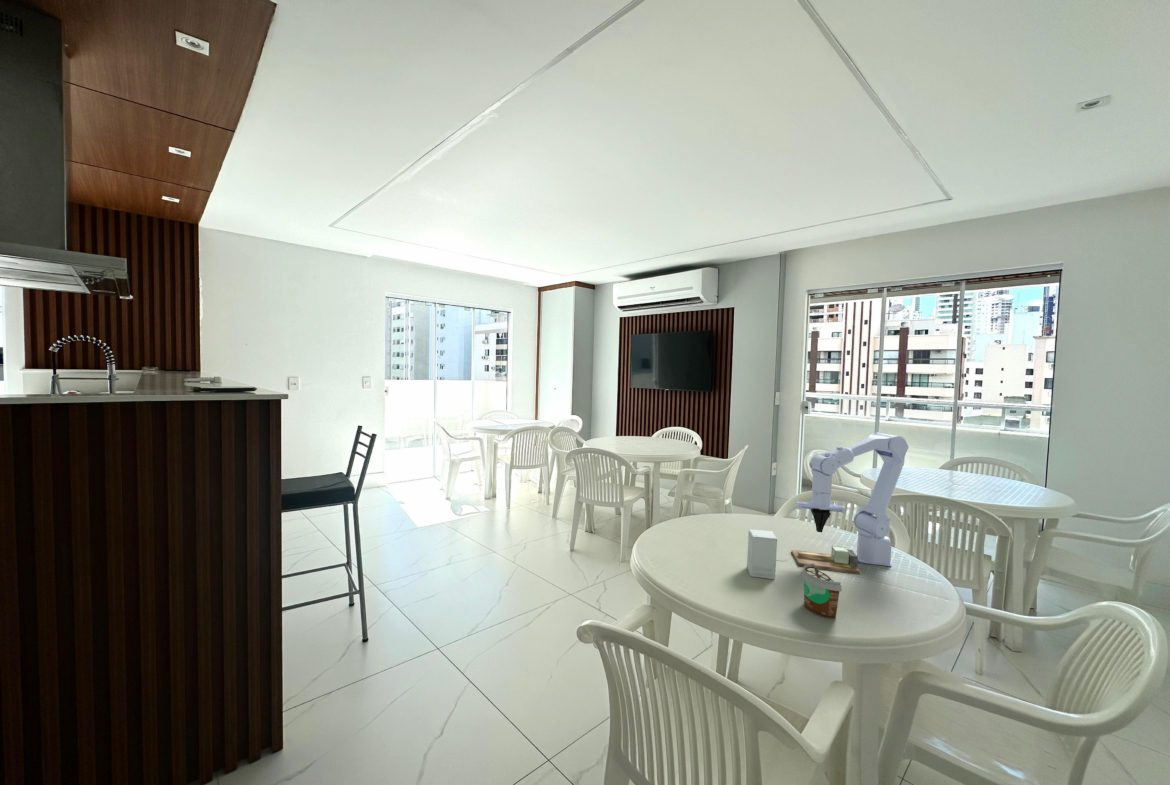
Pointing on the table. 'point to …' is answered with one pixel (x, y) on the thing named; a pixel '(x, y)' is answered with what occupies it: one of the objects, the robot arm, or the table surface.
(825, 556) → the track board
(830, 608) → the food container
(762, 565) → the supplement box
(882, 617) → the table surface
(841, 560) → the block
